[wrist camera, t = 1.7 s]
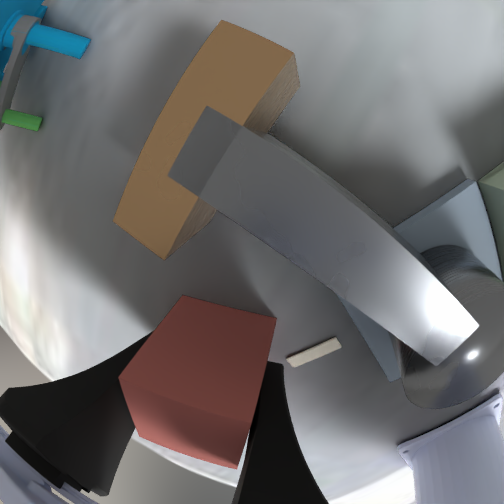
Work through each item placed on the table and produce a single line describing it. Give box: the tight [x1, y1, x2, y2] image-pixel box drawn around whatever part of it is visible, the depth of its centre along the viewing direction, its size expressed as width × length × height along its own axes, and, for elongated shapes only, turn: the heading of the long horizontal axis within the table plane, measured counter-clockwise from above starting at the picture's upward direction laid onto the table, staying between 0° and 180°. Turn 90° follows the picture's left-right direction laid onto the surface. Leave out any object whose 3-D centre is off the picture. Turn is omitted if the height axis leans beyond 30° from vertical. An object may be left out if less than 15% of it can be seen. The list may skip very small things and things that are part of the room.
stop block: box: [118, 295, 277, 469], centre depth 10 cm, size 4×4×5 cm
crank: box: [113, 20, 504, 409], centre depth 7 cm, size 12×5×3 cm, turn 57°
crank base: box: [286, 179, 502, 382], centre depth 9 cm, size 6×10×1 cm, turn 127°
